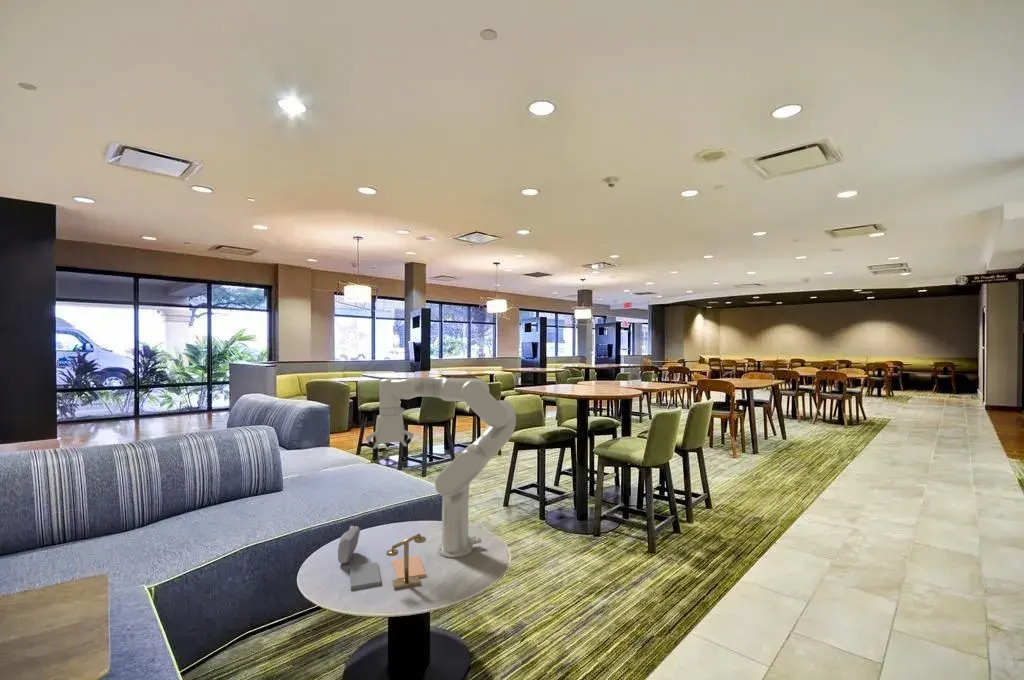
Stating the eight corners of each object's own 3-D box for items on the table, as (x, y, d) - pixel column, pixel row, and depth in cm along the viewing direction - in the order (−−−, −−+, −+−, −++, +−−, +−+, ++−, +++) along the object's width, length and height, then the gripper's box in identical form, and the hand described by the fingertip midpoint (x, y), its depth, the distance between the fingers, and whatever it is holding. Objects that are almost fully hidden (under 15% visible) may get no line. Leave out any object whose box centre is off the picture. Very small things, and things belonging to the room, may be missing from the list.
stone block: (350, 567, 162) (350, 537, 162) (336, 567, 162) (336, 537, 162) (362, 551, 174) (362, 524, 174) (348, 551, 174) (349, 524, 174)
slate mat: (377, 565, 163) (377, 562, 163) (381, 585, 150) (381, 581, 150) (349, 570, 160) (349, 566, 160) (350, 590, 147) (350, 586, 147)
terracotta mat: (418, 559, 168) (418, 555, 168) (425, 577, 155) (425, 573, 155) (392, 563, 165) (392, 559, 165) (397, 582, 152) (397, 578, 152)
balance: (424, 578, 154) (424, 530, 154) (426, 584, 150) (426, 535, 150) (385, 585, 150) (385, 535, 150) (387, 591, 146) (387, 540, 146)
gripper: (411, 409, 185) (411, 453, 184) (365, 411, 179) (365, 457, 178) (414, 411, 177) (414, 458, 177) (366, 414, 171) (366, 462, 171)
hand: (389, 457), depth 178 cm, fingers open, 9 cm apart
